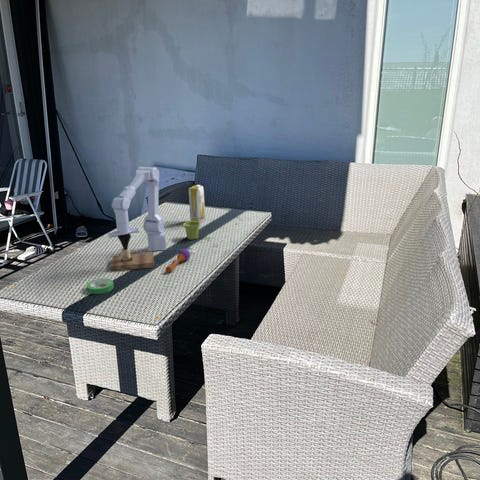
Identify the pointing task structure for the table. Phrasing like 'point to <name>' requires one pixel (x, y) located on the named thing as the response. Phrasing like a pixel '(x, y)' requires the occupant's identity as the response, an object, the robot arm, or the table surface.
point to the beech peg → (125, 255)
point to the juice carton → (197, 203)
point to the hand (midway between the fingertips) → (125, 249)
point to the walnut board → (133, 262)
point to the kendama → (179, 259)
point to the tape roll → (100, 290)
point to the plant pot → (192, 229)
